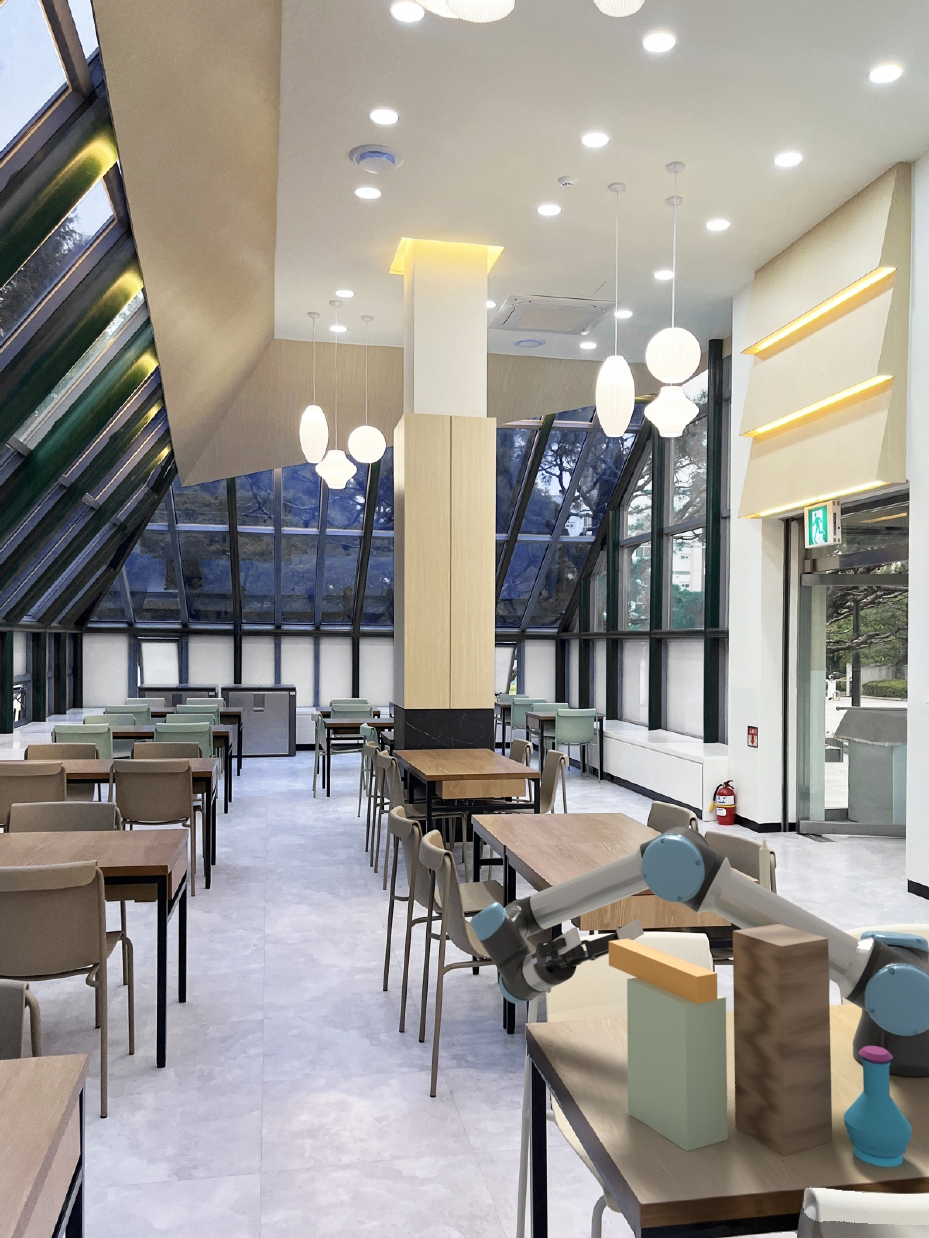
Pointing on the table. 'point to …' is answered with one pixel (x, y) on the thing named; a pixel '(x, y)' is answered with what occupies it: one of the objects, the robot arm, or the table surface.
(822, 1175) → the table surface
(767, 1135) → the post
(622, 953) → the bar
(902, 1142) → the perfume bottle
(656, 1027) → the pale green rectangular block
